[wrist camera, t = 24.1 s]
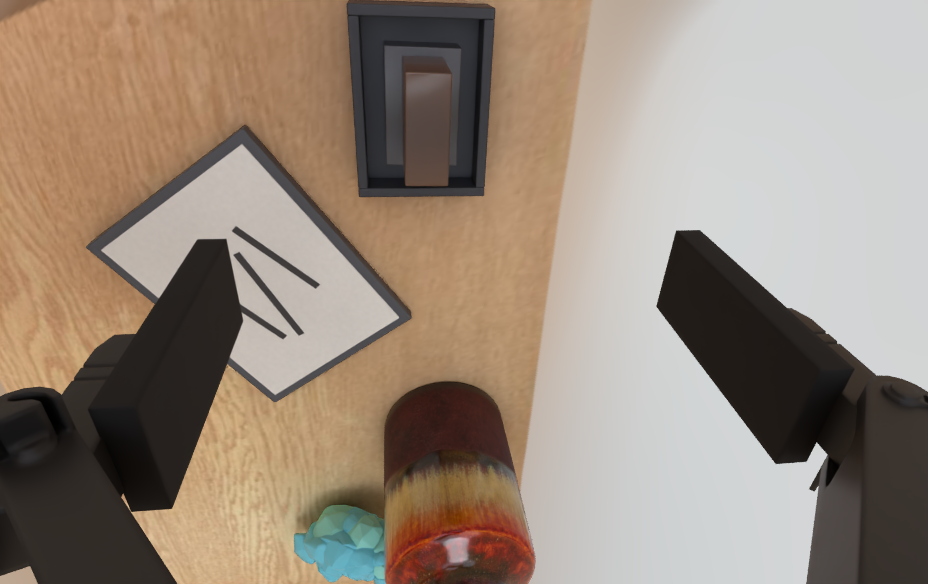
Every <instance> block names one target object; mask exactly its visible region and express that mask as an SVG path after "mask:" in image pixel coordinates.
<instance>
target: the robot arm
mask: <svg viewBox="0 0 928 584" xmlns="http://www.w3.org/2000/svg"><path fill="white" fill-rule="evenodd" d="M657 308H658V309H659V311H660V312H661V313H662V314H663V316H664V317H665V319H666V320H667V321H668V322H669V324H670V325H671V326H672V328H673V329H674V330H675V331H676V333H677V334H678V336H679V337H680V338H681V340H682V341H683V342H684V344H685V345H686V346H687V348H688V349H689V350H690V352H691V353H692V354H693V355H694V357H695V358H696V359H697V361H698V362H699V363H700V365H701V366H702V367H703V369H704V370H705V371H706V373H707V374H708V375H709V377H710V378H711V379H712V380H713V382H714V383H715V384H716V386H717V387H718V388H719V390H720V391H721V392H722V394H723V395H724V396H725V398H726V399H727V400H728V402H729V403H730V404H731V406H732V407H733V408H734V409H735V411H736V412H737V413H738V415H739V416H740V417H741V419H742V420H743V421H744V423H745V424H746V425H747V427H748V428H749V429H750V431H751V432H752V433H753V434H754V436H755V437H756V438H757V440H758V441H759V442H760V444H761V445H762V446H763V448H764V449H765V450H766V452H767V453H768V454H769V456H770V457H771V458H772V460H773V461H774V462H775V463H776V464H782V463H795V462H806V461H807V460H808V458H809V456H810V454H811V452H812V450H813V448H814V446H815V444H816V442H817V443H818V444H819V445H820V446H821V447H822V449H823V450H824V451H825V452H826V453H827V454H828V455H827V457H826V459H825V461H824V463H823V465H822V466H821V468H820V470H819V472H818V474H817V476H816V478H815V479H814V481H813V483H812V485H811V487H810V490H813V491H815V490H816V488H817V487H818V486H819V489H818V497H817V505H816V513H815V521H814V528H813V537H812V545H811V551H810V559H809V567H808V575H807V583H806V584H928V392H927V391H925V390H924V389H922V388H921V387H919V386H917V385H915V384H913V383H910V382H908V381H906V380H903V379H900V378H896V377H891V376H876V375H875V374H874V373H873V372H872V371H871V370H869V369H868V368H867V367H866V366H865V365H864V364H863V363H861V362H860V361H859V360H858V359H857V358H856V357H854V356H853V355H852V354H851V353H850V352H849V351H848V350H846V349H845V348H844V347H843V346H842V345H841V344H837V341H836V340H835V339H834V338H833V337H831V336H830V335H829V334H826V333H825V330H823V329H822V328H821V327H820V326H819V325H817V324H816V323H815V322H814V321H813V320H812V319H810V318H808V317H807V316H805V315H803V314H801V313H799V312H797V311H796V310H793V309H792V308H786V307H785V306H784V305H783V304H782V303H781V302H780V301H778V300H777V299H776V298H775V297H774V296H773V295H772V294H771V293H769V292H768V291H767V290H766V289H765V288H764V287H763V286H762V285H761V284H759V283H758V282H757V281H756V280H755V279H754V278H753V277H752V276H750V275H749V274H748V273H747V272H746V271H745V270H744V269H743V268H741V267H740V266H739V265H738V264H737V263H736V262H735V261H734V260H733V259H731V258H730V257H729V256H728V255H727V254H726V253H725V252H724V251H722V250H721V249H720V248H719V247H718V246H717V245H716V244H714V242H712V241H711V240H710V239H709V238H708V237H707V236H706V235H704V234H703V233H702V232H701V231H700V230H691V231H689V230H688V231H676V234H675V237H674V241H673V245H672V249H671V253H670V256H669V260H668V264H667V268H666V272H665V275H664V279H663V283H662V287H661V291H660V295H659V298H658V302H657ZM242 324H243V317H242V312H241V307H240V302H239V297H238V292H237V287H236V283H235V278H234V273H233V268H232V263H231V258H230V253H229V249H228V244H227V239H197V240H196V242H195V244H194V245H193V247H192V248H191V250H190V251H189V253H188V254H187V256H186V257H185V259H184V261H183V262H182V264H181V265H180V267H179V268H178V270H177V271H176V273H175V274H174V276H173V278H172V279H171V281H170V282H169V284H168V285H167V287H166V288H165V290H164V291H163V293H162V295H161V296H160V298H159V299H158V301H157V302H156V304H155V305H154V307H153V308H152V310H151V312H150V313H149V315H148V316H147V318H146V319H145V321H144V322H143V324H142V325H141V327H140V329H139V330H138V332H137V333H136V334H123V335H114V336H112V337H111V338H109V339H108V340H107V341H105V342H104V343H103V344H101V345H100V346H98V347H97V348H96V349H95V350H94V351H93V352H92V354H91V355H90V356H89V358H88V359H87V361H86V362H85V363H84V367H83V368H81V369H80V370H79V372H78V373H77V374H76V376H75V377H74V381H71V383H70V384H69V385H68V387H67V388H66V390H65V391H64V392H63V394H62V395H61V394H60V393H58V392H57V391H55V390H54V389H52V388H45V387H33V388H24V389H20V390H17V391H14V392H10V393H7V394H4V395H2V396H0V576H1V575H4V574H7V573H10V572H13V571H16V570H19V569H22V568H25V567H28V566H30V567H31V569H32V571H33V573H34V576H35V578H36V580H37V582H38V584H177V582H176V581H175V579H174V578H173V576H172V575H171V573H170V572H169V570H168V569H167V567H166V565H165V564H164V562H163V561H162V559H161V558H160V556H159V555H158V553H157V552H156V550H155V549H154V547H153V545H152V544H151V542H150V541H149V539H148V538H147V536H146V535H145V533H144V532H143V530H142V529H141V527H140V526H139V524H138V522H137V521H136V519H135V518H134V516H133V515H132V513H131V512H135V511H149V510H162V509H172V507H173V505H174V502H175V500H176V497H177V494H178V492H179V489H180V486H181V484H182V481H183V479H184V476H185V473H186V471H187V468H188V465H189V463H190V460H191V458H192V455H193V452H194V450H195V447H196V444H197V442H198V439H199V437H200V434H201V431H202V429H203V426H204V423H205V421H206V418H207V416H208V413H209V410H210V408H211V405H212V402H213V400H214V397H215V395H216V392H217V389H218V387H219V384H220V381H221V379H222V376H223V373H224V371H225V368H226V366H227V363H228V360H229V358H230V355H231V352H232V350H233V347H234V345H235V342H236V339H237V337H238V334H239V331H240V329H241V326H242ZM123 493H124V496H125V498H126V500H127V503H128V505H129V507H130V510H131V512H130V510H129V509H128V507H127V506H126V504H125V503H124V501H123V499H122V498H121V497H122V494H123Z"/></svg>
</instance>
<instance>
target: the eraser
mask: <svg viewBox="0 0 928 584" xmlns="http://www.w3.org/2000/svg"><path fill="white" fill-rule="evenodd" d="M383 47H384V94H385V142H386V165H403V166H404V178H405V185H406V186H448V176H449V166H456V165H457V147H458V125H459V104H460V83H461V62H462V48H461V47H460V46H459V44H457V43H434V42H409V41H384V46H383Z"/></svg>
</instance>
